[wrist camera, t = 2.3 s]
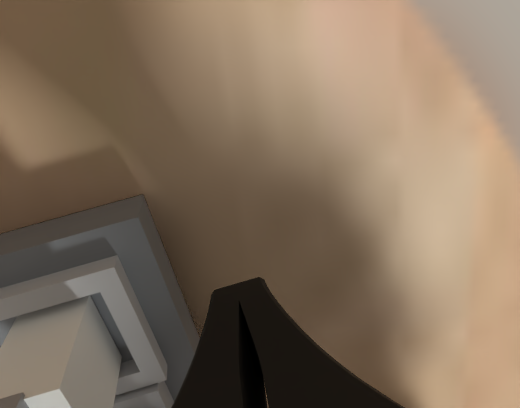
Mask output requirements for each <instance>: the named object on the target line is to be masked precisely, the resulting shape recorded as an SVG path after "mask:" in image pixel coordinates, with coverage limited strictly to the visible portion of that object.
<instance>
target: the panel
mask: <svg viewBox="0 0 520 408" xmlns="http://www.w3.org/2000/svg"><path fill="white" fill-rule="evenodd" d="M88 295H90V296H91V298H92V300H93V302H94V304H95V306H96V308H97V310H98V312H99V314H100V316H101V318H102V319H103V321H104V323H105V325H106V327H107V329H108V331H109V333H110V335H111V337H112V339H113V341H114V343H115V345H116V347H117V348H118V350H119V352H120V354H121V356H122V360H121V365H120V371H119V377H118V383H117V388H116V394H115V400H114V406H113V408H171V407H172V405H173V403H174V401H175V399H176V397H177V395H178V393H179V390H180V388H181V386H182V384H183V382H184V379H185V377H186V374H187V372H188V369H189V367H190V365H191V362H192V360H193V357H194V355H195V352H196V349H197V346H198V343H199V340H200V338H199V335H198V333H197V330H196V328H195V325H194V323H193V320H192V317H191V315H190V312H189V310H188V307H187V305H186V302H185V300H184V297H183V295H182V292H181V290H180V287H179V284H178V282H177V279H176V277H175V274H174V272H173V269H172V267H171V264H170V262H169V259H168V256H167V254H166V251H165V249H164V246H163V244H162V241H161V239H160V236H159V234H158V231H157V229H156V226H155V223H154V221H153V218H152V216H151V213H150V211H149V208H148V206H147V203H146V201H145V198H144V195H143V194H142V195H139V196H135V197H132V198H128V199H124V200H121V201H117V202H114V203H110V204H106V205H103V206H99V207H96V208H92V209H89V210H85V211H81V212H78V213H74V214H71V215H67V216H63V217H60V218H56V219H53V220H49V221H45V222H42V223H38V224H35V225H31V226H28V227H24V228H20V229H17V230H13V231H10V232H6V233H2V234H0V347H1V346H2V344H3V342H4V340H5V338H6V336H7V334H8V333H9V331H10V329H11V327H12V325H13V323H14V321H15V319H16V318H17V316H19V315H23V314H26V313H30V312H33V311H37V310H40V309H43V308H47V307H50V306H54V305H57V304H61V303H64V302H68V301H71V300H75V299H78V298H82V297H85V296H88Z"/></svg>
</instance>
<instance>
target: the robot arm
mask: <svg viewBox="0 0 520 408" xmlns="http://www.w3.org/2000/svg"><path fill="white" fill-rule="evenodd" d="M263 378H264V379H263ZM264 383H265V386H264ZM265 388H266V393H267V399H268V404H269V408H405V407H403V406H401V405H399V404H398V403H396V402H394V401H393V400H391V399H390V398H388V397H387V396H385V395H384V394H382V393H381V392H379V391H378V390H376V389H375V388H373V387H371V386H370V385H368V384H367V383H365V382H364V381H362V380H361V379H359V378H358V377H357V376H355V375H354V374H353V373H351V372H350V371H349V370H347V369H346V368H345V367H343V366H342V365H341V364H340V363H338V362H337V361H336V360H335V359H333V358H332V357H331V356H330V355H329V354H327V353H326V352H325V351H324V350H323V349H322V348H321V347H320V346H318V345H317V344H316V343H315V342H314V341H313V340H312V339H311V338H310V337H309V336H308V335H307V334H306V333H305V332H304V331H303V330H302V329H301V328H300V327H299V326H298V325H297V324H296V323H295V322H294V320H293V319H292V318H291V317H290V316H289V315H288V314H287V313H286V312H285V310H284V309H283V308H282V307H281V305H280V304H279V303H278V302H277V300H276V299H275V298H274V296H273V295H272V293H271V292H270V290H269V289H268V287H267V285H266V283H265V281H264V279H262V278H260V277H257V278H254V279H251V280H247V281H244V282H240V283H237V284H234V285H230V286H227V287H223V288H220V289H216V290H214V292H213V293H212V295H211V301H210V306H209V310H208V314H207V318H206V321H205V325H204V328H203V331H202V334H201V337H200V340H199V343H198V346H197V349H196V352H195V355H194V357H193V360H192V362H191V365H190V367H189V369H188V372H187V374H186V377H185V379H184V382H183V384H182V386H181V388H180V390H179V393H178V395H177V397H176V399H175V401H174V403H173V405H172V407H171V408H267V401H266V394H265Z"/></svg>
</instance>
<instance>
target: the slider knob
mask: <svg viewBox="0 0 520 408" xmlns="http://www.w3.org/2000/svg"><path fill="white" fill-rule="evenodd" d="M121 360H122V356H121V354H120V352H119V350H118V348H117V347H116V345H115V343H114V341H113V339H112V337H111V335H110V333H109V331H108V329H107V327H106V325H105V323H104V321H103V319H102V318H101V316H100V314H99V312H98V310H97V308H96V306H95V304H94V302H93V300H92V298H91V296H90V295H88V296H85V297H82V298H78V299H75V300H71V301H68V302H64V303H61V304H57V305H54V306H50V307H47V308H43V309H40V310H37V311H33V312H30V313H26V314H23V315H19V316H17V318H16V319H15V321H14V323H13V325H12V327H11V329H10V331H9V333H8V334H7V336H6V338H5V340H4V342H3V344H2V346H1V347H0V408H113V406H114V400H115V394H116V388H117V383H118V377H119V371H120V365H121Z"/></svg>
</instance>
